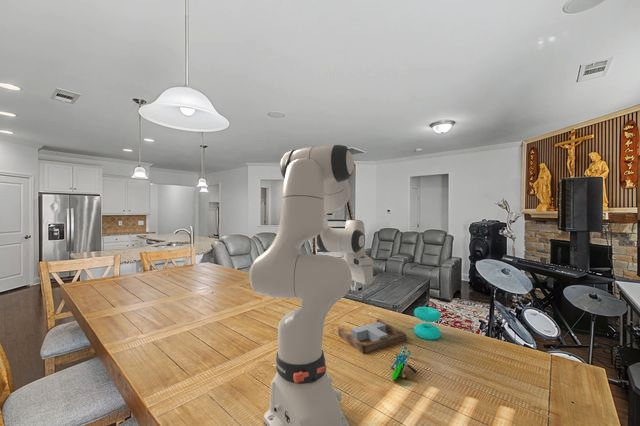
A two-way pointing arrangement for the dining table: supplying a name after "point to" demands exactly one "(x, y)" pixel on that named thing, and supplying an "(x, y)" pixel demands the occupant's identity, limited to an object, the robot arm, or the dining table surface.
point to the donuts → (424, 328)
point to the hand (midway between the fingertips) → (354, 290)
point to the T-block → (370, 332)
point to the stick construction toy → (401, 365)
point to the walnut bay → (374, 345)
